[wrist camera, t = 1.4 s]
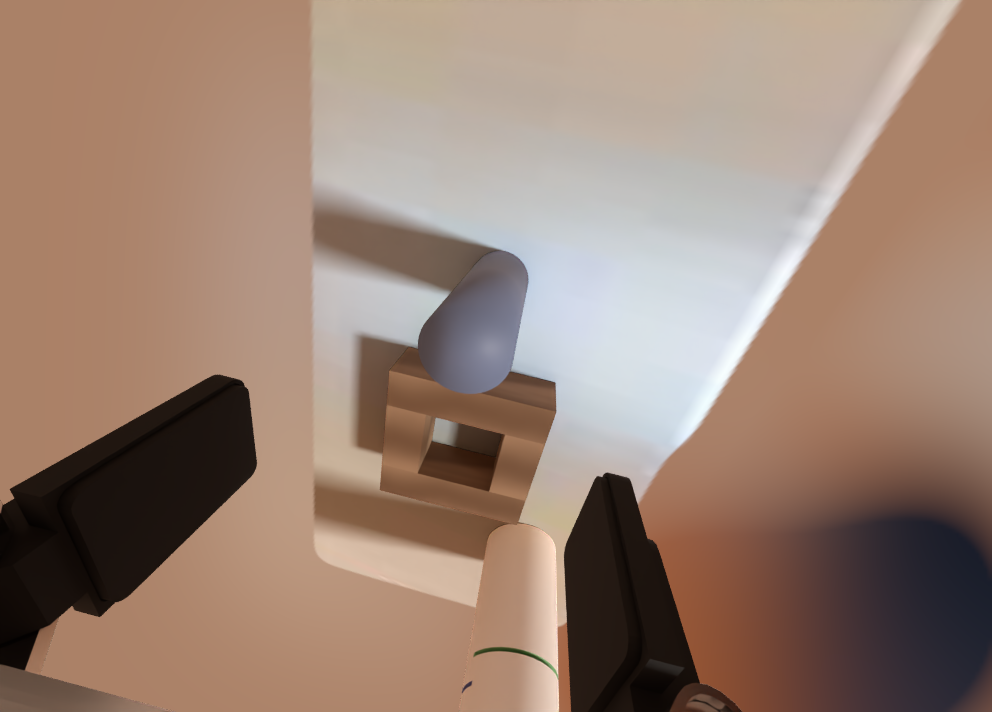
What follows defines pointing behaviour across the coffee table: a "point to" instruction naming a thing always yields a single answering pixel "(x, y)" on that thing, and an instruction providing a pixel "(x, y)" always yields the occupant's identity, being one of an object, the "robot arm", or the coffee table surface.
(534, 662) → the cylindrical container
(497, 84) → the coffee table surface
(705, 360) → the coffee table surface
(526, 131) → the coffee table surface
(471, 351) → the peg
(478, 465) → the socket block
